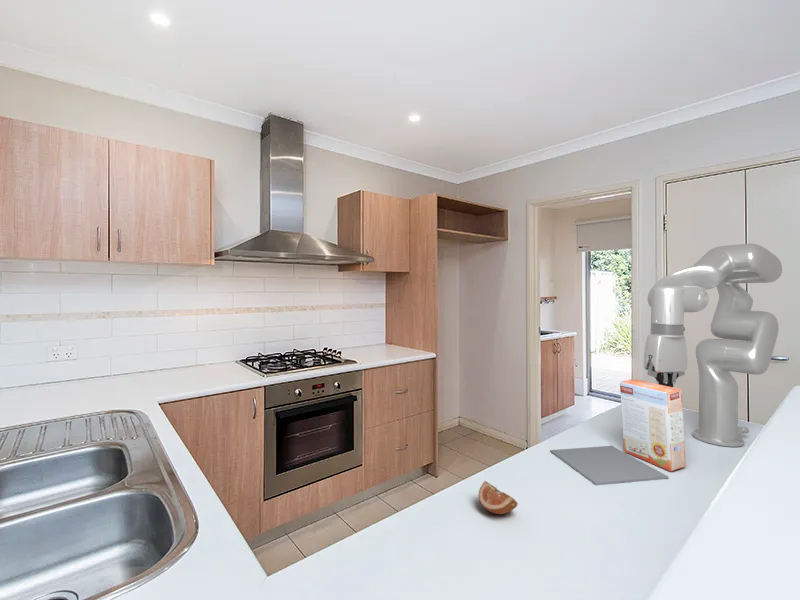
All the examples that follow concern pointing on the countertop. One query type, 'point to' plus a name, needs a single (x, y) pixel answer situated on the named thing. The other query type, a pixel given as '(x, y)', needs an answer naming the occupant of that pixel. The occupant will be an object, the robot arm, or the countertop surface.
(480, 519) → the countertop surface
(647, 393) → the cracker box
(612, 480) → the mat
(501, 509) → the fruit slice
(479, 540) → the countertop surface
